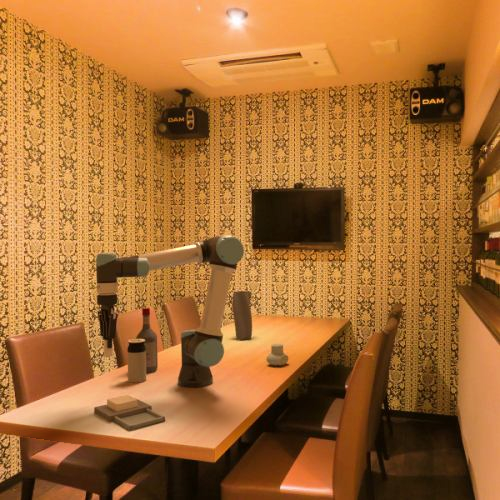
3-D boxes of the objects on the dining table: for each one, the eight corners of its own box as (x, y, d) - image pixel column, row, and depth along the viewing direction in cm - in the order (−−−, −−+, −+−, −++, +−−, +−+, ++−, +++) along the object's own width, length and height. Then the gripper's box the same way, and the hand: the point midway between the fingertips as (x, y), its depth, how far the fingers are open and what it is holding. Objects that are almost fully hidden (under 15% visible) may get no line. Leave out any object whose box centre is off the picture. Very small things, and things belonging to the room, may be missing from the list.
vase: (243, 341, 310) (242, 293, 309) (229, 339, 318) (228, 292, 318) (256, 338, 318) (255, 291, 318) (242, 336, 327) (241, 290, 327)
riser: (134, 403, 191) (134, 398, 191) (151, 411, 181) (151, 406, 181) (94, 412, 181) (94, 407, 181) (109, 422, 171) (109, 416, 171)
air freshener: (278, 368, 242) (277, 347, 242) (264, 366, 247) (264, 345, 247) (290, 363, 250) (290, 343, 250) (276, 361, 255) (276, 342, 255)
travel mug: (138, 383, 218) (138, 342, 218) (124, 381, 222) (123, 341, 221) (149, 379, 225) (149, 339, 225) (135, 377, 229) (134, 338, 229)
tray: (148, 412, 180) (148, 408, 180) (165, 421, 171) (165, 416, 171) (114, 421, 172) (114, 416, 172) (130, 430, 162) (130, 426, 162)
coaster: (127, 401, 187) (127, 394, 187) (137, 406, 181) (137, 399, 181) (107, 406, 182) (107, 399, 182) (116, 411, 176) (116, 404, 176)
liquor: (155, 372, 237) (153, 309, 236) (135, 373, 237) (134, 309, 236) (158, 368, 246) (157, 307, 245) (139, 368, 246) (138, 307, 245)
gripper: (90, 293, 192) (91, 355, 192) (105, 295, 182) (106, 360, 182) (109, 292, 197) (110, 352, 197) (124, 294, 187) (125, 357, 187)
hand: (108, 356), depth 190 cm, fingers closed
